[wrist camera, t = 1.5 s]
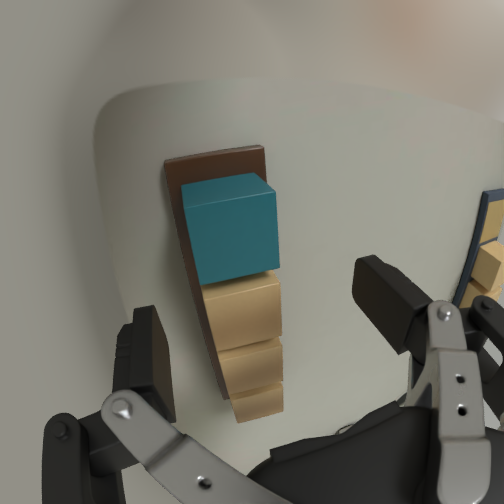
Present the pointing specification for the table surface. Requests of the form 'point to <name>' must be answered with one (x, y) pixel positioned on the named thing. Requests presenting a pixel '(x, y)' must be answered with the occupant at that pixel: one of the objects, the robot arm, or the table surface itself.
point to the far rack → (484, 254)
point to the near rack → (234, 298)
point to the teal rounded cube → (231, 226)
